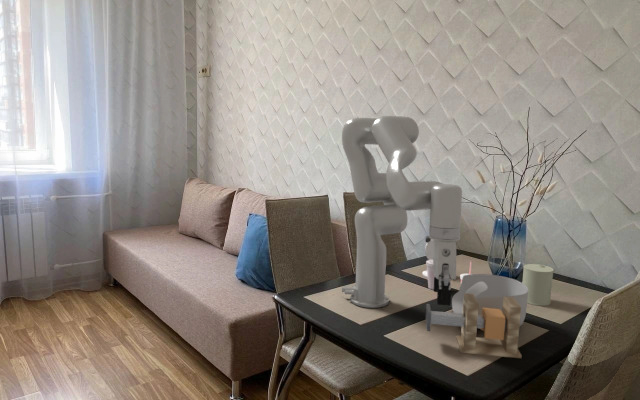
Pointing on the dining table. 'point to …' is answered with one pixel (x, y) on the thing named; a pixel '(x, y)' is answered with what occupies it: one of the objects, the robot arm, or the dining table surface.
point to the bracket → (484, 345)
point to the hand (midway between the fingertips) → (441, 297)
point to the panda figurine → (428, 251)
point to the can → (538, 283)
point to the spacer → (493, 323)
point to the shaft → (450, 319)
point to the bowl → (491, 292)
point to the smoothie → (430, 274)
